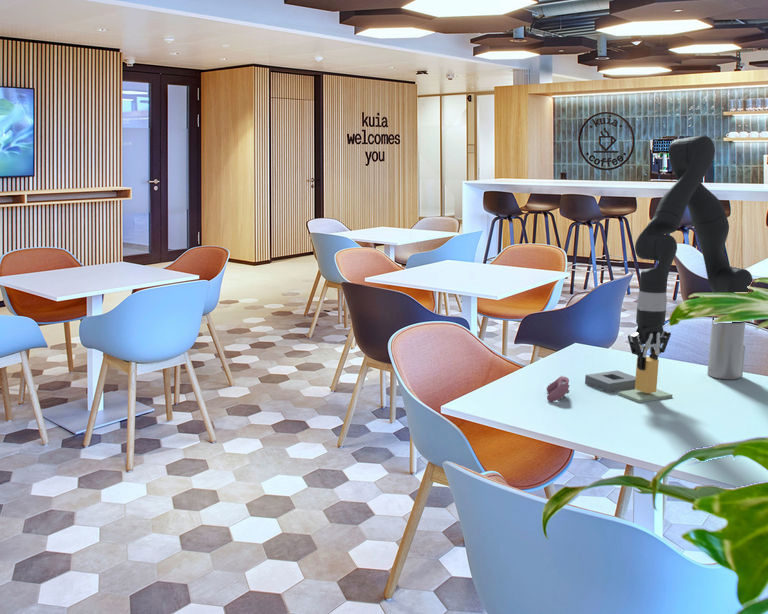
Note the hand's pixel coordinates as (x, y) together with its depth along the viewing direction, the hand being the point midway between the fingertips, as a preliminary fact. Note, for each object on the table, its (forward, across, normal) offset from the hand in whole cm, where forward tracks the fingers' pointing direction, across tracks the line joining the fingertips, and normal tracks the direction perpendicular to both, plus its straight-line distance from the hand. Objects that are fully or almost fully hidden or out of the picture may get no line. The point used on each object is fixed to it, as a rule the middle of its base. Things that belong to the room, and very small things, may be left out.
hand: (647, 368), depth 217 cm
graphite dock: (+8, +1, -12) cm, 14 cm away
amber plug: (+6, 0, 0) cm, 6 cm away
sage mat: (+8, 0, 0) cm, 8 cm away
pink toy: (+8, +23, -9) cm, 26 cm away
